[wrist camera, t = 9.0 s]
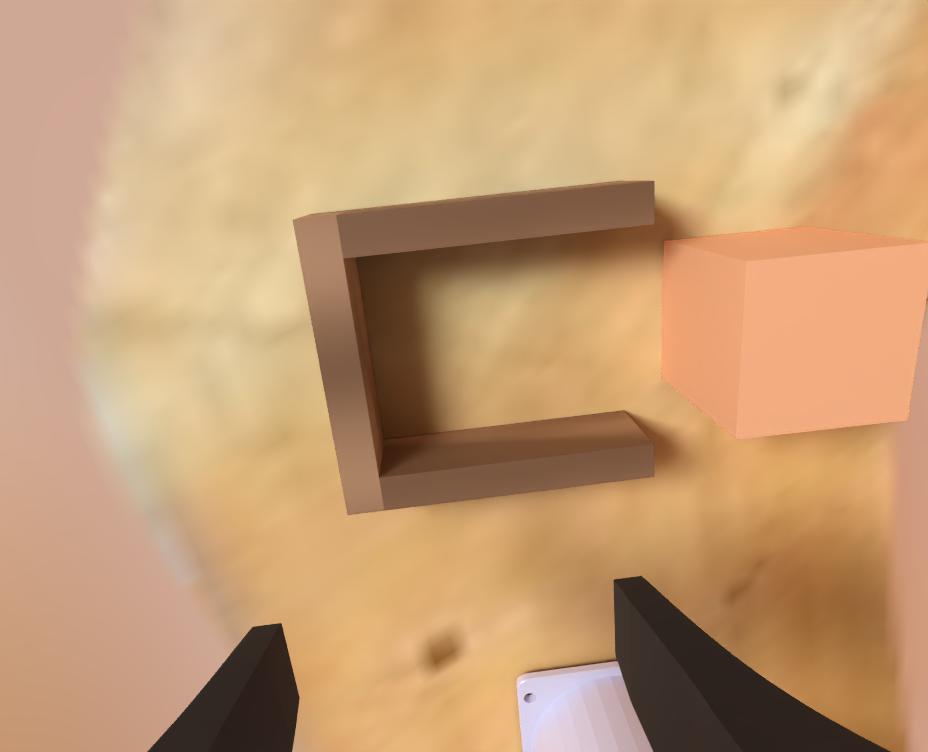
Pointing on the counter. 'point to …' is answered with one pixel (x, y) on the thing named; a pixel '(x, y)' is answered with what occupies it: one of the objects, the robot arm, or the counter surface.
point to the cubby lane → (473, 450)
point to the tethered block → (794, 327)
